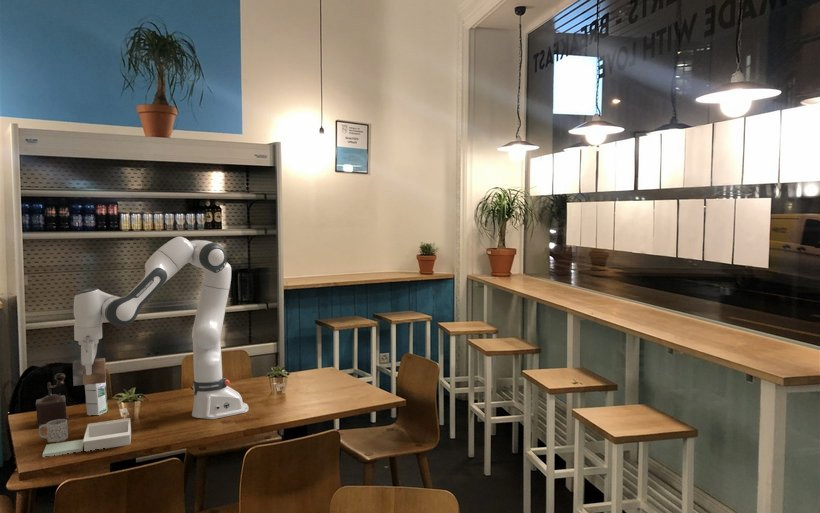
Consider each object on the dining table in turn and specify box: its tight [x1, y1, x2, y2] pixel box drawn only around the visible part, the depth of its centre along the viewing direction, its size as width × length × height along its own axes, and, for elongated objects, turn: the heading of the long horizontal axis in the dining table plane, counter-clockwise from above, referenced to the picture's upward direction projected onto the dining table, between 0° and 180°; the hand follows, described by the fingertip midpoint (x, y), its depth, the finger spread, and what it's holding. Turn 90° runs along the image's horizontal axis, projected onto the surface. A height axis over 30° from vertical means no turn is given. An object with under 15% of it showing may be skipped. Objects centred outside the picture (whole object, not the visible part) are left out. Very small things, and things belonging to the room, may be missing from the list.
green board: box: [42, 438, 84, 458], centre depth 217 cm, size 12×10×1 cm
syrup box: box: [84, 381, 109, 416], centre depth 258 cm, size 6×6×14 cm
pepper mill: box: [35, 372, 70, 429], centre depth 250 cm, size 16×11×18 cm
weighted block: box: [72, 357, 107, 387], centre depth 220 cm, size 10×5×8 cm, turn 114°
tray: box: [83, 417, 132, 452], centre depth 224 cm, size 15×21×4 cm
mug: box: [38, 419, 69, 443], centre depth 228 cm, size 10×7×7 cm, turn 92°
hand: (89, 372), depth 220 cm, fingers closed on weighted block, 5 cm apart
